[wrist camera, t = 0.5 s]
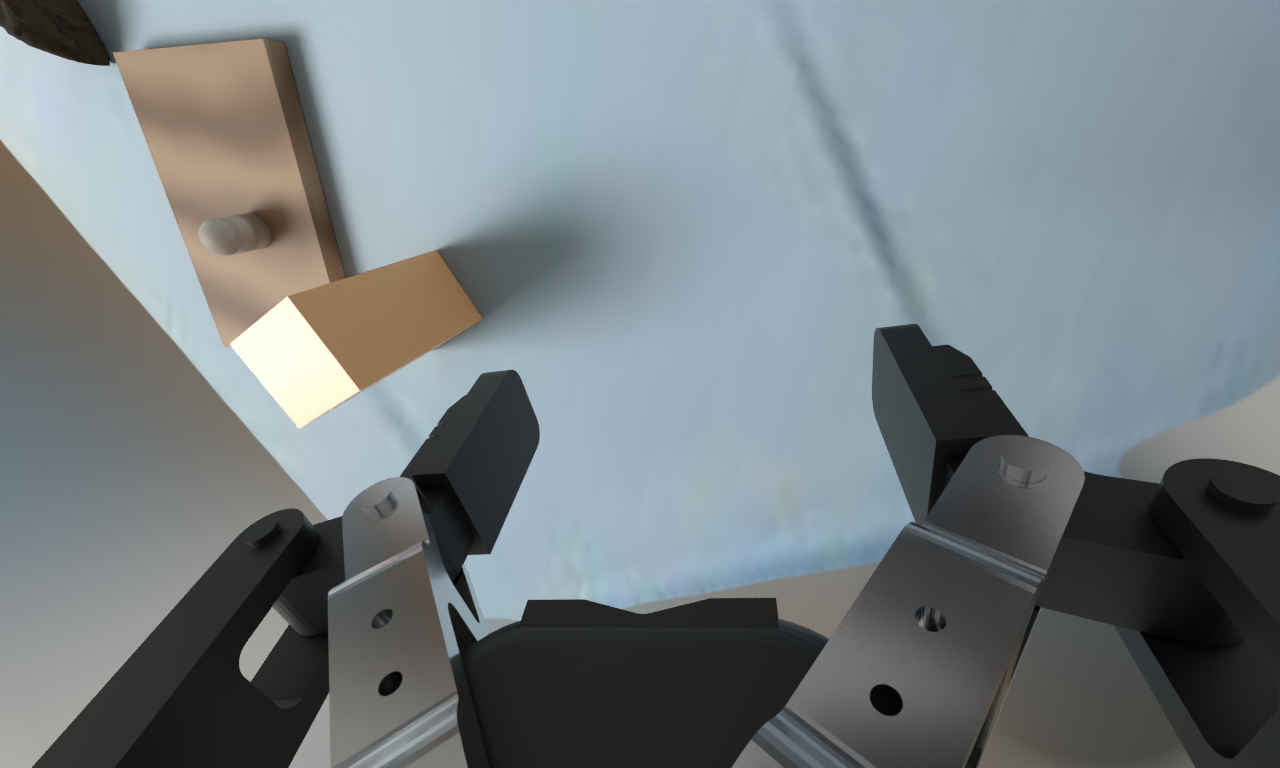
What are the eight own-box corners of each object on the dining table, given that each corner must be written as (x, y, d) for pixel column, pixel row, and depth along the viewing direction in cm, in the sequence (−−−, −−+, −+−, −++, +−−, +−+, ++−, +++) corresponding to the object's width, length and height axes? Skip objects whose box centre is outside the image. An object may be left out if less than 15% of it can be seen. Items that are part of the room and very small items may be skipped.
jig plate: (137, 55, 35) (39, 42, 30) (284, 42, 32) (200, 26, 27) (241, 339, 43) (176, 363, 38) (364, 349, 40) (310, 375, 36)
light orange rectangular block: (386, 287, 37) (229, 344, 27) (436, 249, 35) (287, 296, 25) (432, 350, 39) (299, 428, 28) (483, 318, 37) (360, 390, 26)
